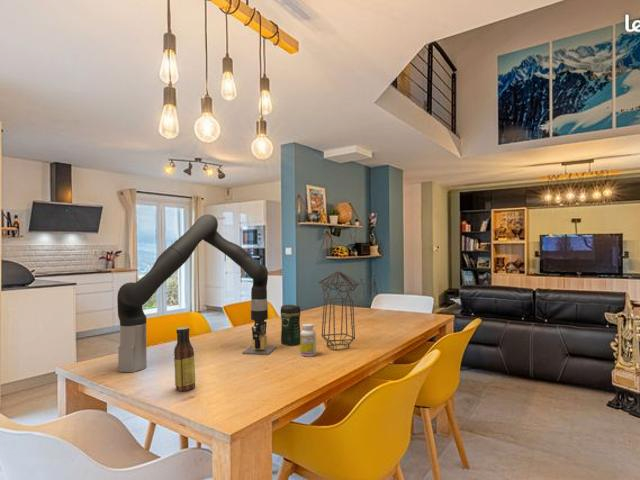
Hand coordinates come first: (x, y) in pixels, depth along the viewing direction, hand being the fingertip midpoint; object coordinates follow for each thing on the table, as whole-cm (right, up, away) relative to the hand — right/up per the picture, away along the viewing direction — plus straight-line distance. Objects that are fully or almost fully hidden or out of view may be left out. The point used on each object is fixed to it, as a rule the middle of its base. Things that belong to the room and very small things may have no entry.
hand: (259, 346), depth 167 cm
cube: (0, 0, 0) cm, 0 cm away
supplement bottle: (+22, -1, -8) cm, 23 cm away
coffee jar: (+13, -2, +12) cm, 18 cm away
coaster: (0, -2, 0) cm, 2 cm away
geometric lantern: (+36, -2, +4) cm, 36 cm away
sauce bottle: (-17, -1, -45) cm, 48 cm away
